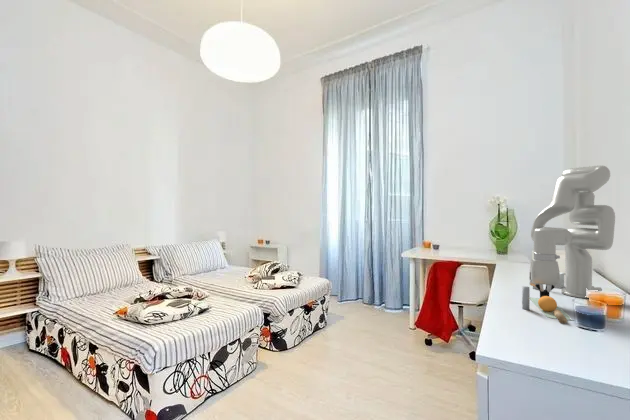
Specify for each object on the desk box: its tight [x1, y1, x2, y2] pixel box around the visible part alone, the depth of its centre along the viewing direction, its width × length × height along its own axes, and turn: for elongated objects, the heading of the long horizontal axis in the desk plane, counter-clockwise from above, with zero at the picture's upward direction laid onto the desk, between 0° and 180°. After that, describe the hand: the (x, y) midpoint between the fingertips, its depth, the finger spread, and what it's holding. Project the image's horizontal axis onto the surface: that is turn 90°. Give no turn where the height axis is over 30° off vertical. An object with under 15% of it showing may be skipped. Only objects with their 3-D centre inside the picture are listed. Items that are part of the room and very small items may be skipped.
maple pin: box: [553, 309, 568, 324], centre depth 113 cm, size 2×2×9 cm
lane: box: [530, 297, 572, 321], centre depth 126 cm, size 28×8×1 cm, turn 157°
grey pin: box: [521, 285, 531, 311], centre depth 124 cm, size 2×2×9 cm
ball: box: [538, 295, 558, 312], centre depth 121 cm, size 6×6×6 cm
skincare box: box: [559, 271, 565, 289], centre depth 160 cm, size 6×6×7 cm
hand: (544, 300), depth 131 cm, fingers closed
